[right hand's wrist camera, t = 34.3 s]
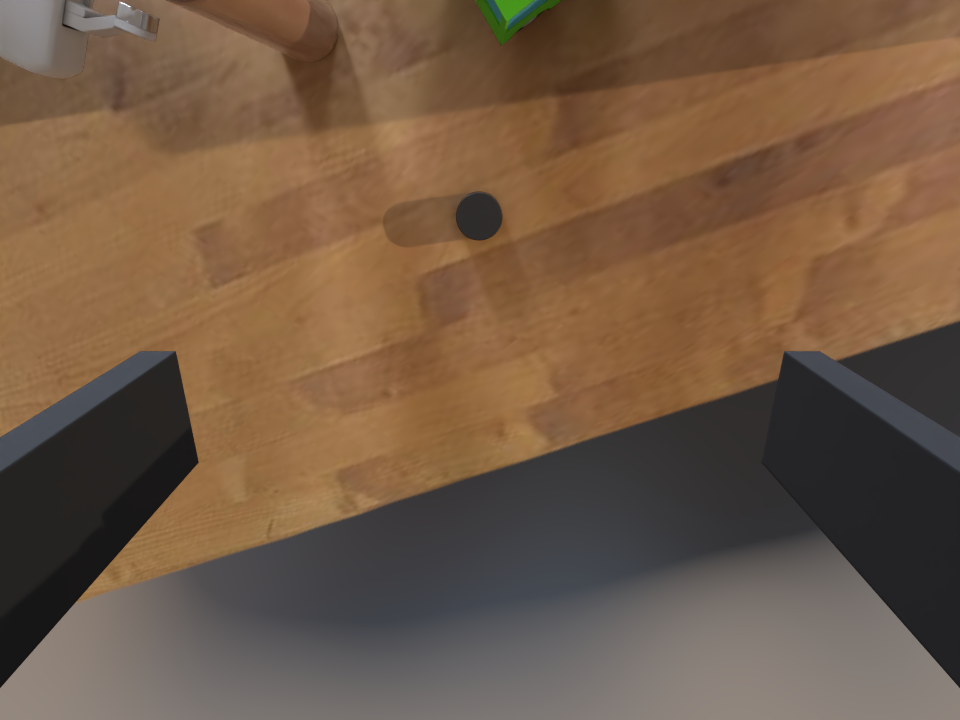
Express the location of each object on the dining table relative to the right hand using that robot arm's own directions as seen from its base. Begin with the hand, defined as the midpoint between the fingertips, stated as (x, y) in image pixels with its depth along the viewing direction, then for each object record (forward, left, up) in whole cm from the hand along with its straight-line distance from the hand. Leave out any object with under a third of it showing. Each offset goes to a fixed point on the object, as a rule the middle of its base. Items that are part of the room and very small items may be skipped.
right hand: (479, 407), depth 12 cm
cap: (0, 0, -36) cm, 36 cm away
